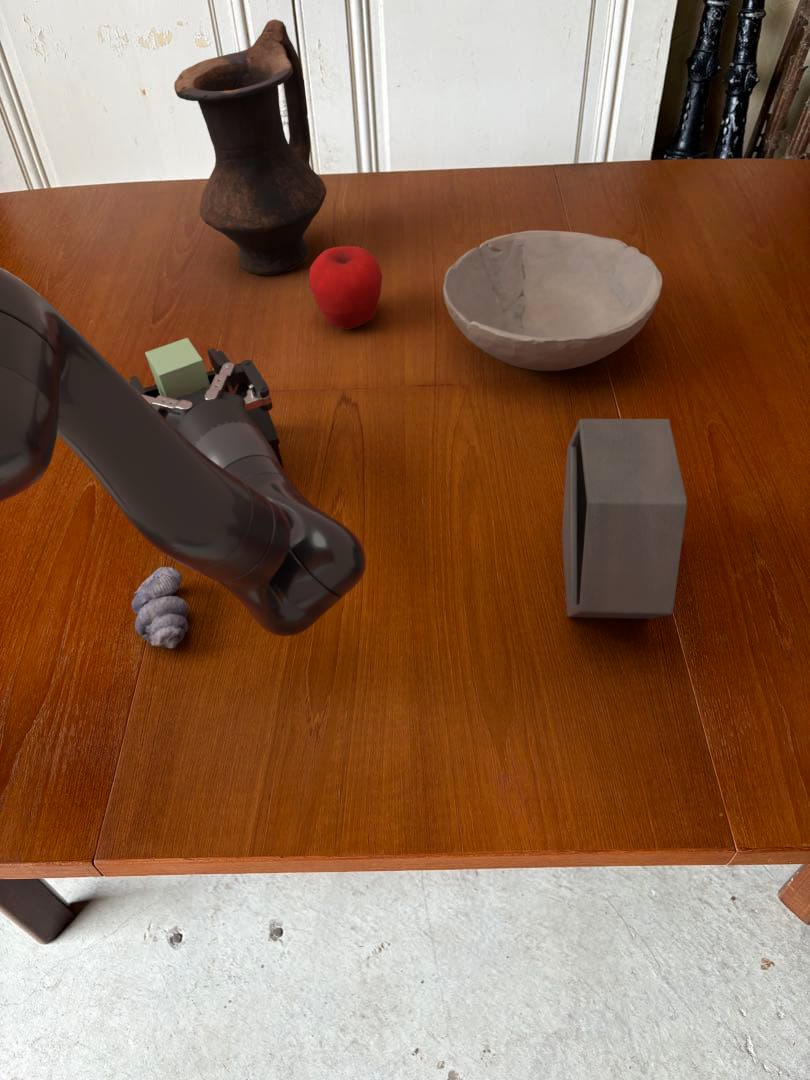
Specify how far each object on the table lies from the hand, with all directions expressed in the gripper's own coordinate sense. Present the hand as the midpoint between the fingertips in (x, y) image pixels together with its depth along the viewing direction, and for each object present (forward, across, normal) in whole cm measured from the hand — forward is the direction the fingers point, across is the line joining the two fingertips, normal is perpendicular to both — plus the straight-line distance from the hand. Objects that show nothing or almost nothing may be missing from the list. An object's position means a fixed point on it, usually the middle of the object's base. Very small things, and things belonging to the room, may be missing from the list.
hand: (173, 369), depth 85 cm
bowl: (-3, -47, +14) cm, 49 cm away
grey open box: (-38, -28, +14) cm, 50 cm away
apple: (+17, -28, +14) cm, 35 cm away
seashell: (-20, +11, +14) cm, 27 cm away
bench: (-2, 0, +14) cm, 14 cm away
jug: (+39, -27, +14) cm, 49 cm away
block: (-2, 0, +6) cm, 6 cm away
